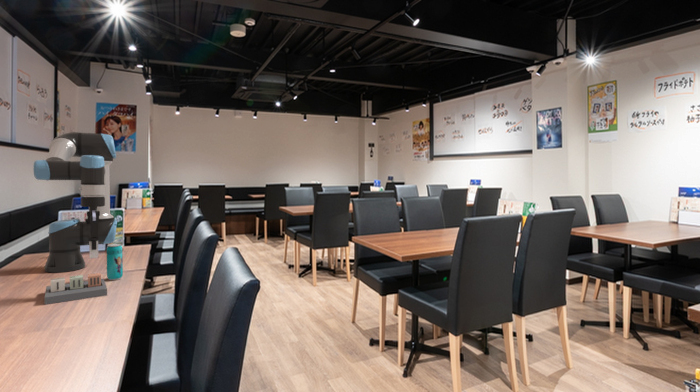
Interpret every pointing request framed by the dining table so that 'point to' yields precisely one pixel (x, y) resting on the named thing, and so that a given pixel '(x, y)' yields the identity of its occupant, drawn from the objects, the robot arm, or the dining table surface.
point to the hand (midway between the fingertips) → (93, 257)
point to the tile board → (75, 293)
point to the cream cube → (57, 284)
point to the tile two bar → (76, 282)
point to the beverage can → (114, 262)
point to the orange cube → (94, 279)
